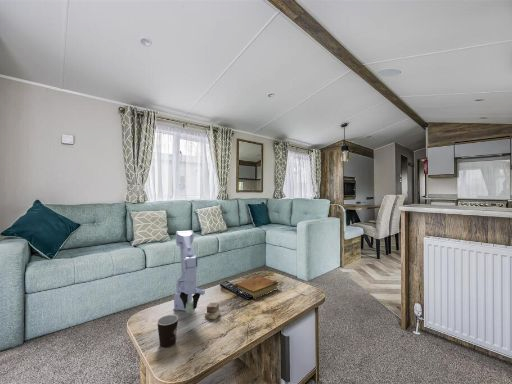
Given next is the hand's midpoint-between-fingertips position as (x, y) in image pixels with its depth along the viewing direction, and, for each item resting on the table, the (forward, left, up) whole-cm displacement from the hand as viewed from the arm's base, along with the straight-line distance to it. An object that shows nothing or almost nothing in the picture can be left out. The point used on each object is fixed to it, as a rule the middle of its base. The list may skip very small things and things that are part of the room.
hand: (190, 307), depth 119 cm
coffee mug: (-2, -15, -8) cm, 17 cm away
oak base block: (+8, +10, -8) cm, 15 cm away
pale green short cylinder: (0, 0, -2) cm, 2 cm away
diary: (+25, +48, -9) cm, 55 cm away
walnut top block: (+8, +10, -5) cm, 14 cm away
